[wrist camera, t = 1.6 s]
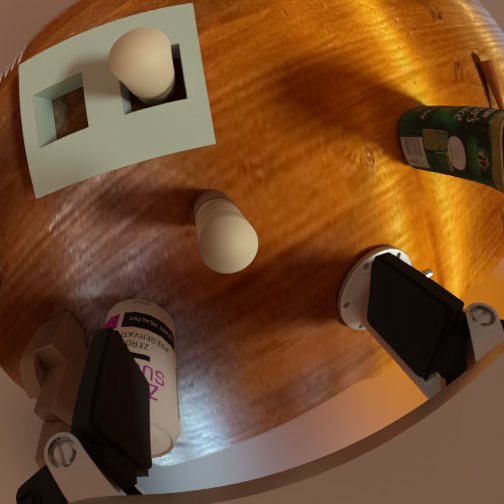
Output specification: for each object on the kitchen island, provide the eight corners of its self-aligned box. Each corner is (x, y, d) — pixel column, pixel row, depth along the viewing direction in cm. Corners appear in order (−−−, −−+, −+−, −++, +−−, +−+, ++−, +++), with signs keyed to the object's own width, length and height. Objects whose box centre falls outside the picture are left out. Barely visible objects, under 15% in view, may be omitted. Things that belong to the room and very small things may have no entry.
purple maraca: (499, 58, 21) (526, 155, 28) (475, 61, 26) (504, 154, 34) (494, 61, 20) (523, 167, 27) (469, 65, 25) (499, 165, 33)
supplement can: (124, 356, 29) (112, 462, 16) (95, 303, 26) (57, 413, 13) (184, 345, 31) (196, 456, 17) (162, 287, 27) (155, 406, 14)
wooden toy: (35, 323, 25) (-30, 495, 2) (69, 308, 25) (2, 514, 3) (102, 399, 32) (95, 551, 9) (137, 391, 32) (142, 558, 10)
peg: (228, 185, 25) (254, 210, 16) (235, 222, 26) (262, 265, 17) (189, 194, 24) (191, 224, 15) (197, 231, 26) (206, 280, 17)
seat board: (190, 21, 18) (197, -36, 9) (211, 144, 23) (227, 142, 14) (37, 72, 15) (-18, 52, 6) (55, 190, 21) (-2, 218, 12)
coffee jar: (433, 101, 26) (551, 112, 9) (444, 154, 29) (554, 186, 13) (387, 112, 25) (532, 124, 9) (402, 174, 29) (533, 220, 12)
